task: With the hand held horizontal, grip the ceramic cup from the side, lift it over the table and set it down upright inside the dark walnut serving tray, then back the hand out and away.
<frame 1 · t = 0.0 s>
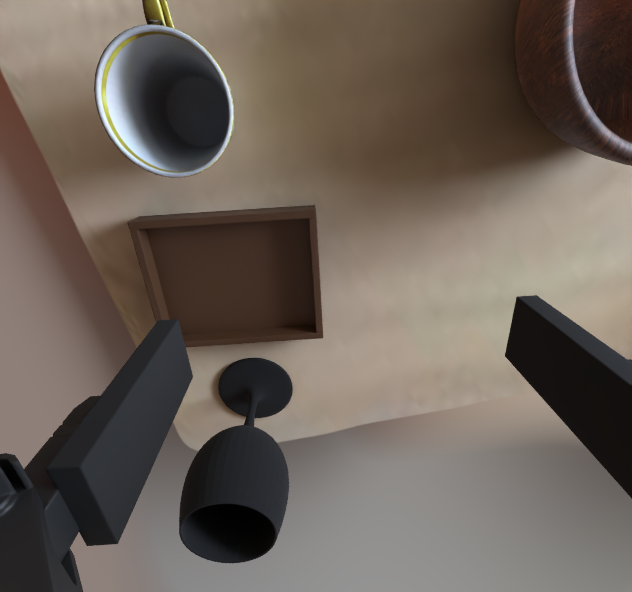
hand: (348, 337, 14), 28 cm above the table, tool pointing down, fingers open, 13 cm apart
ceramic cup: (198, 96, 35), on the table
tray: (237, 275, 43), on the table
wine glass: (256, 387, 50), on the table
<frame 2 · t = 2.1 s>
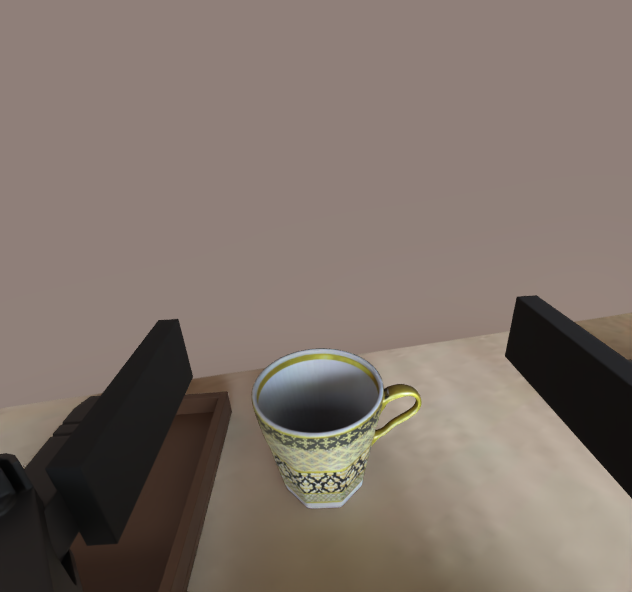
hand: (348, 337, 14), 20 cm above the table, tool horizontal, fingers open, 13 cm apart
ceramic cup: (341, 475, 31), on the table
tray: (119, 500, 30), on the table
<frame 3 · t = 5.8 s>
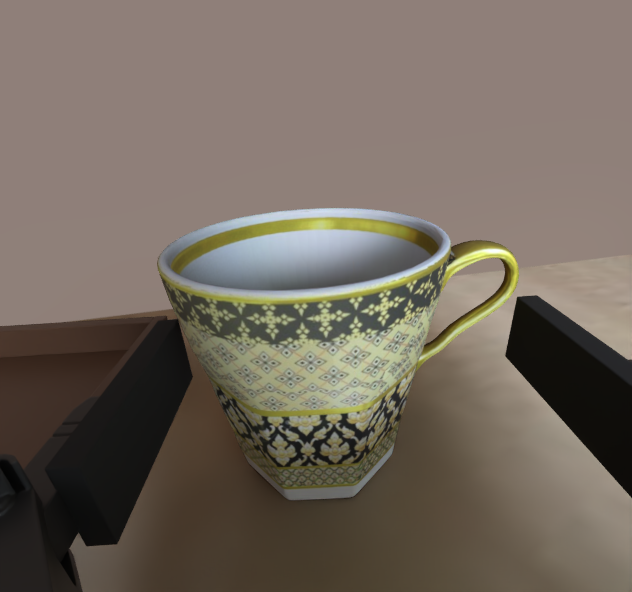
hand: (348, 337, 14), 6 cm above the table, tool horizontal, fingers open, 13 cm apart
ceramic cup: (350, 440, 17), on the table, touching gripper
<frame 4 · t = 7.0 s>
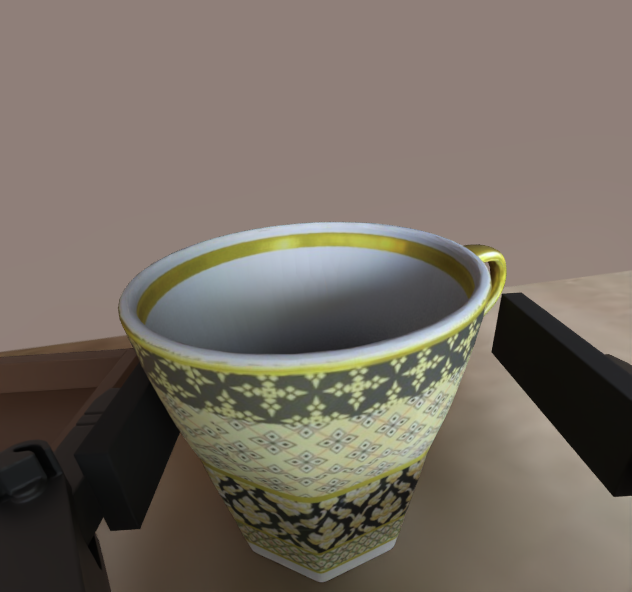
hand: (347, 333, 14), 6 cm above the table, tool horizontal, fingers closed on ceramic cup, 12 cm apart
ceramic cup: (355, 480, 15), on the table, touching gripper
when the fingers open (7 cm above the table, at t = 15.8 s): ceramic cup stays where it is, resting on tray.
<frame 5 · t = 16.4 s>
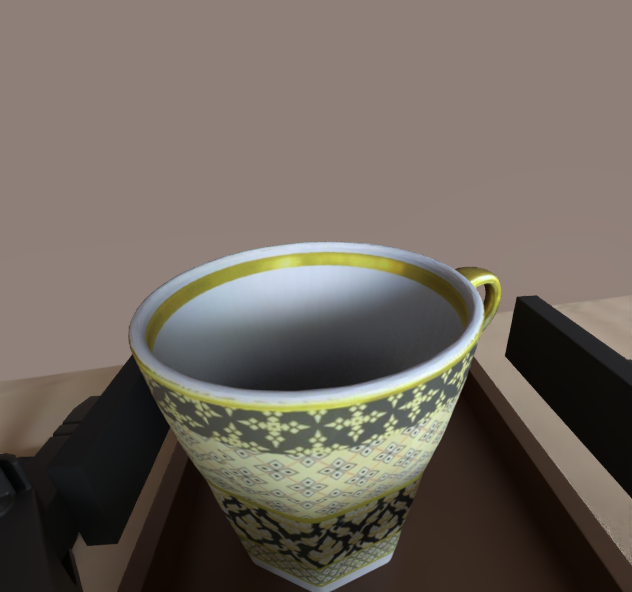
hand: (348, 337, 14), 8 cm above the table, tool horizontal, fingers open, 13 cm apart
ceramic cup: (353, 493, 16), point 1 cm above the table, touching tray
tray: (359, 540, 14), on the table
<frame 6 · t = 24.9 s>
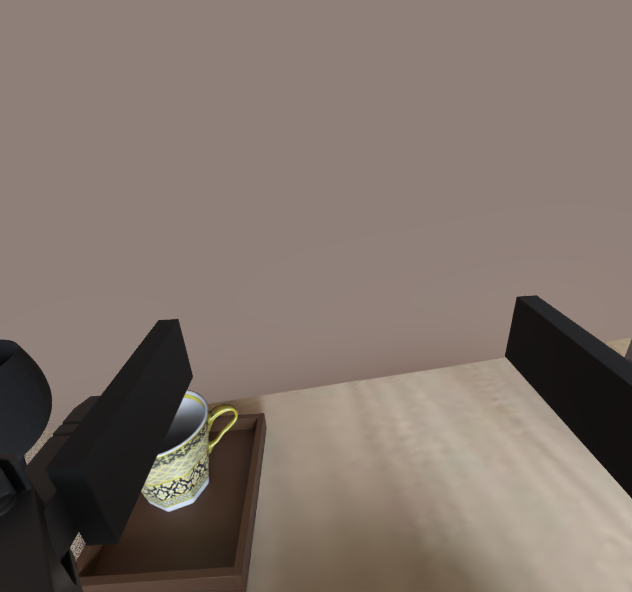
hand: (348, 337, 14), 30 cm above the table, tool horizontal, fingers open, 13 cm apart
ceramic cup: (193, 481, 42), point 1 cm above the table, touching tray
tray: (191, 497, 41), on the table
wine glass: (44, 508, 41), on the table
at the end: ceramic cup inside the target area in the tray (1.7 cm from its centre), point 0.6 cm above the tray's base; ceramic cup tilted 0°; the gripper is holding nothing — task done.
